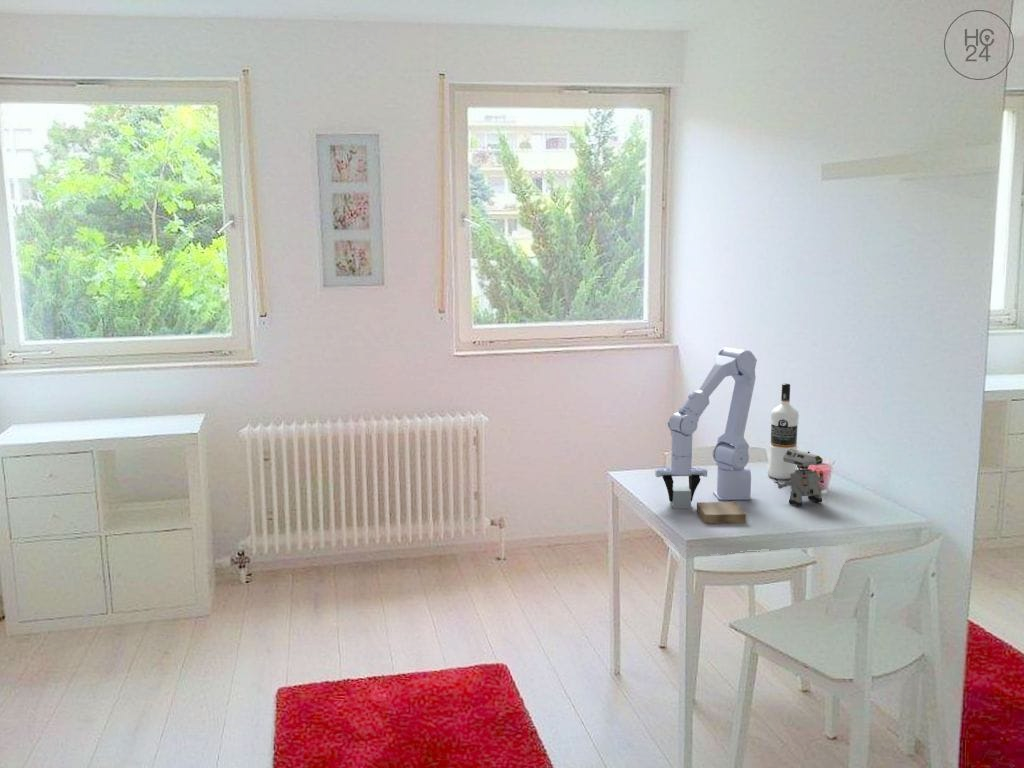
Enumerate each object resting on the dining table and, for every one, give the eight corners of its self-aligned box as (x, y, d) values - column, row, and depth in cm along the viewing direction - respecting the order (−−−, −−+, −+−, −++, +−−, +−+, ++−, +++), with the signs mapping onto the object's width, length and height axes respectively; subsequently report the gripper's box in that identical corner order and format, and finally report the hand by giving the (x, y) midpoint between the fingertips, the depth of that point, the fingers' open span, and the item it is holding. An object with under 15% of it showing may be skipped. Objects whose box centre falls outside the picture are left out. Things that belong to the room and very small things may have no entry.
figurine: (796, 494, 275) (798, 445, 272) (826, 504, 265) (828, 453, 262) (773, 499, 270) (775, 449, 268) (803, 509, 260) (805, 458, 258)
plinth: (735, 510, 260) (735, 502, 259) (745, 523, 249) (746, 514, 249) (696, 511, 260) (696, 502, 259) (705, 523, 249) (705, 514, 248)
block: (687, 502, 268) (687, 486, 267) (690, 507, 263) (691, 490, 262) (670, 502, 268) (670, 486, 267) (673, 508, 263) (673, 491, 262)
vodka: (800, 474, 296) (804, 382, 290) (792, 481, 288) (797, 387, 283) (771, 471, 300) (775, 380, 295) (763, 477, 293) (767, 384, 287)
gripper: (704, 450, 267) (702, 496, 269) (654, 451, 266) (653, 496, 269) (709, 456, 260) (708, 503, 262) (658, 457, 259) (657, 503, 262)
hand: (680, 500), depth 265 cm, fingers closed on block, 5 cm apart
